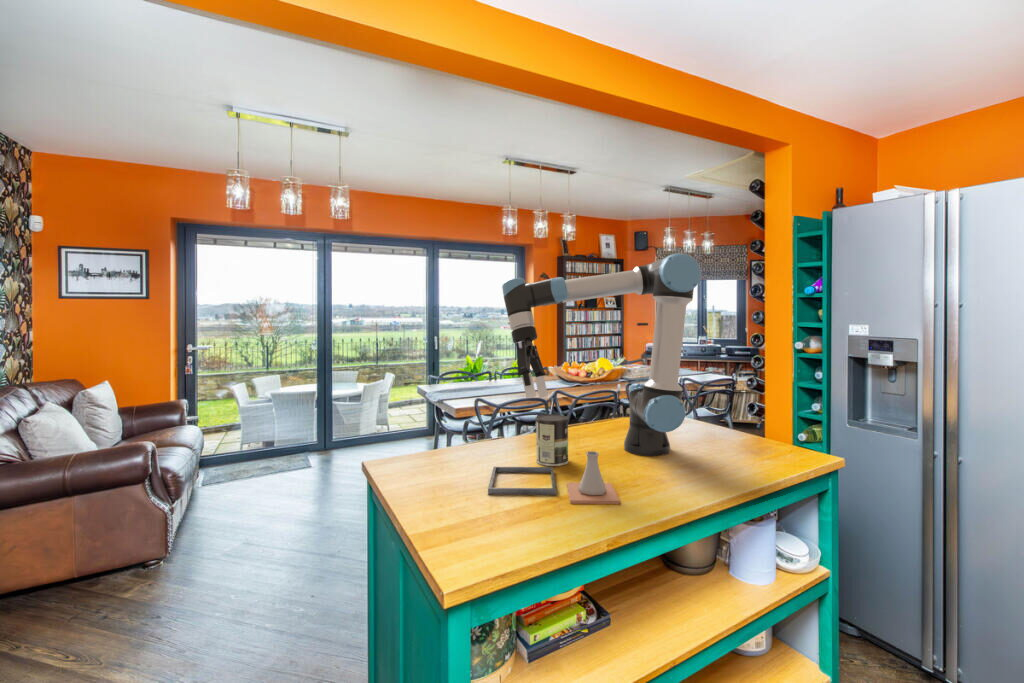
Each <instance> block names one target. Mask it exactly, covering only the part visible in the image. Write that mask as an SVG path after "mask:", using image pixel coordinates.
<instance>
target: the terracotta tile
mask: <svg viewBox="0 0 1024 683" xmlns="http://www.w3.org/2000/svg"><path fill="white" fill-rule="evenodd" d="M580 483H581V482H566V488H567V492H568V498H569V502H570V504H574V505H575V504H576V505H577V504H580V505H581V504H582V505H584V504H585V505H588V504H592V505H594V504H596V505H597V504H598V505H599V504H600V505H620V504H621V500H620V498H619V496H618V494H617V492H616V490H615V488H614V486H613V483H611V482H604V485H605V488H606V492H605V493H604V494H603V495H588V494H583V493H580V491H579V489H578V488H579V485H580Z"/></svg>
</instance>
